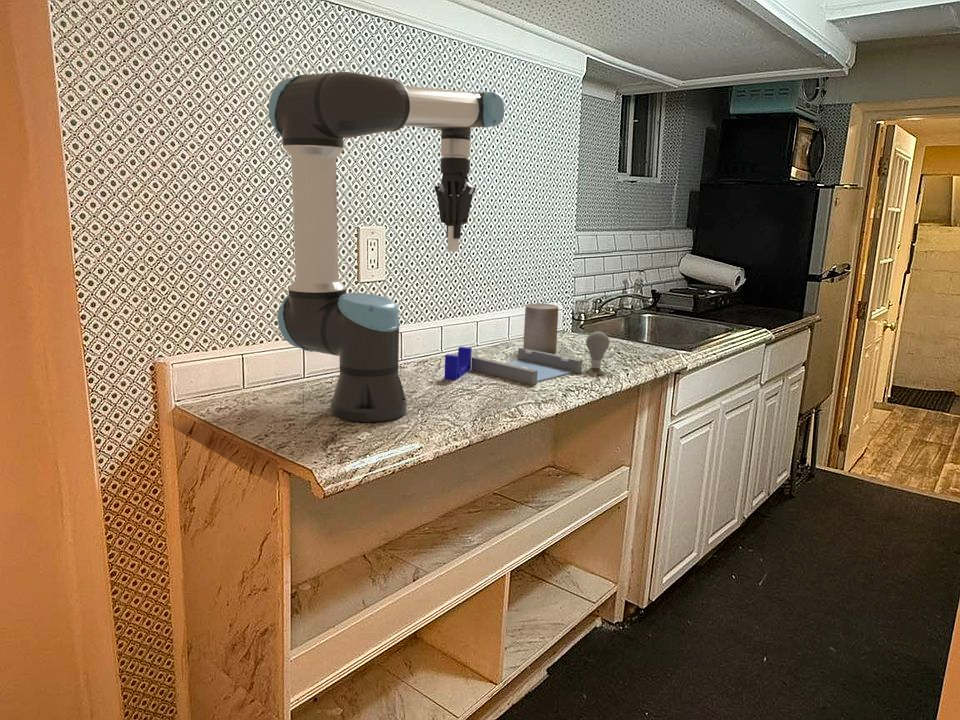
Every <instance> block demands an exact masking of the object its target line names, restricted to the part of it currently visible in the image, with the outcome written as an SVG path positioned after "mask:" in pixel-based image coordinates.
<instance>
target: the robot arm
mask: <svg viewBox="0 0 960 720" xmlns="http://www.w3.org/2000/svg"><path fill="white" fill-rule="evenodd" d="M268 101H269V102H268V116H269V117H268V118H269V121H270V124H271V127H273V128H274V132H275V133H276V134H277V135H278V136H279V137H281V138H282V149H283V150H285V151H286V152H287V154H288V155H289V156H290V158H291V161H290V162H291V183H292V185H291V187H292V213H293V215H292V216H293V217H292V218H293V240H294V242H293V243H294V266H295V267H294V268H295V271H294V273H295V279H294V281H293V282H292V283H291V284H290V285H289V286H288V289H287V290H288V295H287V296H286V297H284V299H282V301H281V305H279V307H278V310H277V325H278V329H279V332H280V334H281V336H282V338H284V340H285V341H286V342H288V343H289V344H290V345H291V346H293V347H295V348H298V349H301V350H303V351H306V352H310V353H312V352H315V353H322V354H326V355H331V356H337V357H338V358H339V376H338V379H337V381H336V382H337V383H336V386H335V389H334V392H333V396H332V398H331V401H330V413H331V415H332V416H334V417H336V418H338V419H340V420H345V421H348V422H349V421H350V422H359V423H378V422H384V421H385V422H386V421H390V420H395V419H398V418H401V417H402V416H404V415H406V414H407V412H408V411H407V410H408V408H407V407H408V402H407V398H406V395H405V392H404V388H403V385H402V382H401V378H400V375H399V353H400V351H399V350H400V346H399V345H400V325H401V324H400V323H401V322H400V317H399V316H400V315H399V307H398V304H397V303H396V302H395V301H393V299H390V298H388V297H386V296H383V295H378V294H373V293H366V292H365V293H364V292H348V293H347V286H346V285H345V284H344V283H343V282H342V281H341V280H340V278H339V277H340V276H339V275H340V274H339V241H338V240H339V238H338V237H339V236H338V235H339V234H338V233H339V232H338V230H339V229H338V196H337V195H338V194H337V193H338V190H337V186H338V185H337V159H338V157H339V156H340V155H341V154H342V152H343V151H344V147H345V146H344V145H345V144H344V139H351V138H357V137H363V136H367V135H373V134H380V133H385V132H391V133H392V132H397V131H400V130H402V129H403V128H404V127H417V128H418V127H422V128H423V129H432V130H437V131H441V132H440V133H441V136H440V156H441V159H440V173H441V174H442V178H441V179H440V180H441V182H440V183H439V184H438V185H435V186H434V188H433V189H434V191H435V194H436V198H437V206H438V210H439V213H438V214H439V217H440V218H439V220H440V222H441V223H442V224H444V225H446V231H445V232H446V233H445V236H446V239H447V250H446V251H447V252H459V250H460V240H461V237H462V235H461V234H462V233H461V232H462V229H461V228H462V226H463V225H466V224H468V221H469V216H470V215H469V214H470V210H471V206H472V205H471V204H472V202H473V201H472V199H473V196H474V194H475V192H476V190H477V188H476V186H475V185H472V184H470V183H469V182H470V180H469V177H468V175H469V174H470V172H471V169H470V168H471V160H470V159H469V157H470V156H471V139H472V138H471V133H472V131H471V130H472V128H489V127H490V128H491V127H498V126H500V125H501V123H502V122H503V119H504V115H505V103H504V100H503V97H502V95H501V94H500V93H499V92H497V91H487V90H486V91H481V92H480V91H479V92H478V91H477V92H475V91H466V90H457V89H455V90H454V89H443V88H442V89H441V88H434V87H432V88H431V87H420V86H411V85H410V86H409V85H404V84H403V83H402V82H401V81H399V80H397V79H394V78H386V77H381V76H375V75H369V74H366V73H365V74H364V73H359V72H352V71H351V72H350V71H337V72H326V73H313V74H299V75H295V76H291V77H287V78H285V79H283V80H281V81H280V82H279V83H278V84H277V85H276V86H275V88H274V89H273V90H272V92H271V94H270V96H269V100H268Z"/></svg>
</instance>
